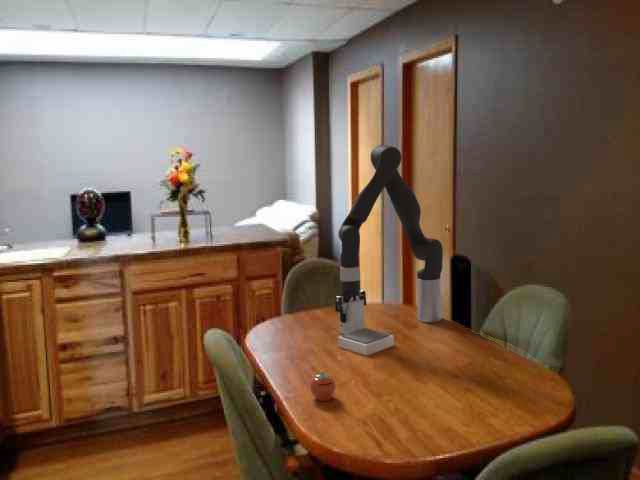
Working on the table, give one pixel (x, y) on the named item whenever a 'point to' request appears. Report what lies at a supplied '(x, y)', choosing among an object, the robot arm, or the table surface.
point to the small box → (353, 317)
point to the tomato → (322, 387)
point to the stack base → (365, 341)
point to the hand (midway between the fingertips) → (351, 320)
